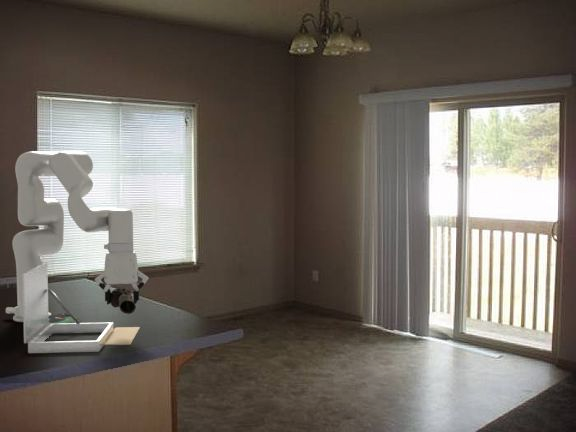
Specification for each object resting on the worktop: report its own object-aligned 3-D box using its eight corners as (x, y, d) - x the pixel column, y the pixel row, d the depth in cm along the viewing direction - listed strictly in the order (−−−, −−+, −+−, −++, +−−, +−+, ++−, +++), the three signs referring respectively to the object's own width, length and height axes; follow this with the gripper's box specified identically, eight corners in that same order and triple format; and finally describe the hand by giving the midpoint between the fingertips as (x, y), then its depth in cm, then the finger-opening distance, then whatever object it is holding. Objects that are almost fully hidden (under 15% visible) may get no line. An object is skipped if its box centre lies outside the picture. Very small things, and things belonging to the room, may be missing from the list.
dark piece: (136, 313, 190) (135, 295, 189) (113, 315, 187) (112, 297, 187) (131, 301, 206) (130, 284, 206) (109, 303, 204) (109, 286, 204)
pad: (103, 345, 189) (103, 343, 189) (115, 328, 209) (115, 327, 209) (130, 344, 190) (130, 343, 190) (139, 328, 209) (139, 326, 209)
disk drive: (36, 325, 216) (52, 333, 205) (35, 317, 216) (51, 324, 205) (65, 320, 223) (82, 327, 212) (65, 312, 223) (82, 319, 212)
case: (24, 353, 180) (22, 274, 179) (47, 332, 203) (45, 262, 202) (99, 351, 182) (97, 273, 181) (113, 331, 205) (112, 261, 204)
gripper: (90, 249, 193) (91, 306, 194) (147, 249, 194) (148, 305, 195) (95, 247, 200) (96, 301, 201) (150, 246, 202) (151, 300, 203)
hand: (122, 302), depth 198 cm, fingers closed on dark piece, 7 cm apart
